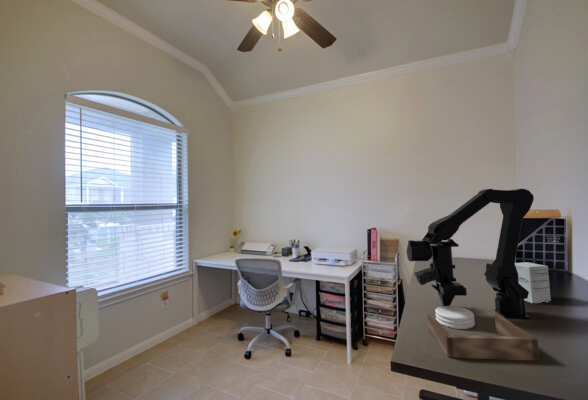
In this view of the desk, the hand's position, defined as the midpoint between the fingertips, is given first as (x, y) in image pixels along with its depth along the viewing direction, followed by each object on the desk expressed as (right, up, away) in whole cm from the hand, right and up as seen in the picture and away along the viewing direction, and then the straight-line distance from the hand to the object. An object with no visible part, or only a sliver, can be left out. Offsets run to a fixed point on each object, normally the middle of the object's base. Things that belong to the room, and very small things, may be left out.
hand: (445, 309), depth 87 cm
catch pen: (-3, -1, -19) cm, 19 cm away
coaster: (-1, -2, -6) cm, 6 cm away
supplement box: (+36, -1, +10) cm, 38 cm away
